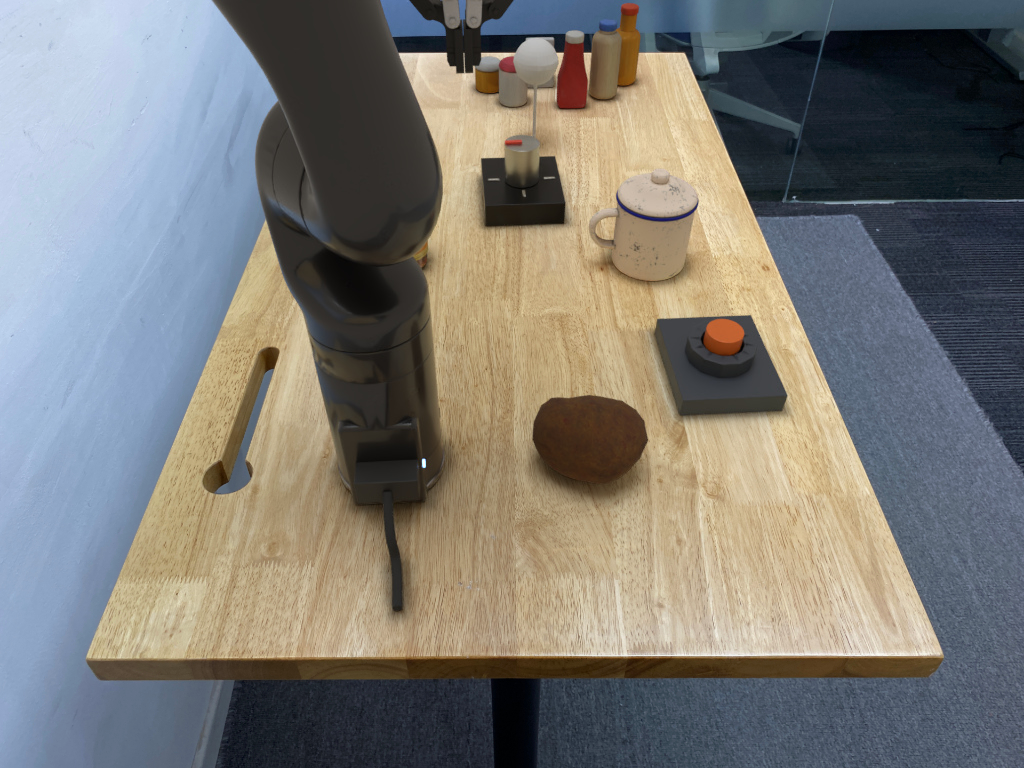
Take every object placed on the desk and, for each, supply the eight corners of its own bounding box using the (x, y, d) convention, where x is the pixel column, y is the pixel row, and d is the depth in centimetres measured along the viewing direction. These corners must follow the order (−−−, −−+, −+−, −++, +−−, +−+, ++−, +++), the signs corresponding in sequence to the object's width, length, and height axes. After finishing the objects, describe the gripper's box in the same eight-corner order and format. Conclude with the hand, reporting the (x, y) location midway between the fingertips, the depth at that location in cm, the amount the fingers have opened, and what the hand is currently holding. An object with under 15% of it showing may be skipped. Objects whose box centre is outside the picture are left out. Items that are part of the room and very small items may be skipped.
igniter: (782, 411, 74) (792, 381, 71) (679, 416, 73) (686, 386, 71) (746, 330, 82) (754, 301, 80) (654, 334, 82) (659, 305, 79)
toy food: (632, 74, 130) (641, -1, 122) (645, 108, 121) (656, 28, 113) (474, 77, 129) (472, 1, 121) (476, 111, 120) (473, 31, 112)
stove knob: (536, 169, 101) (537, 131, 97) (541, 186, 98) (542, 148, 94) (502, 171, 101) (502, 133, 97) (506, 188, 97) (506, 150, 94)
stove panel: (564, 223, 97) (565, 201, 95) (485, 226, 97) (484, 204, 95) (554, 175, 106) (555, 154, 104) (481, 178, 105) (480, 156, 103)
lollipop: (562, 142, 113) (567, 37, 102) (541, 159, 109) (545, 51, 99) (526, 132, 115) (528, 27, 105) (505, 147, 112) (504, 41, 101)
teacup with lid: (674, 237, 95) (690, 149, 87) (695, 281, 89) (714, 191, 81) (578, 243, 94) (585, 155, 86) (593, 288, 88) (602, 197, 80)
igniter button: (745, 355, 74) (749, 341, 73) (708, 357, 74) (711, 343, 73) (734, 331, 77) (738, 317, 76) (699, 332, 77) (702, 319, 75)
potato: (532, 434, 72) (534, 372, 66) (637, 437, 71) (648, 375, 66) (531, 498, 66) (533, 436, 61) (645, 501, 66) (657, 440, 61)
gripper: (353, -173, 50) (383, 90, 62) (557, -174, 51) (547, 86, 63) (361, -191, 55) (388, 54, 67) (545, -192, 56) (538, 51, 68)
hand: (464, 69), depth 65 cm, fingers closed
